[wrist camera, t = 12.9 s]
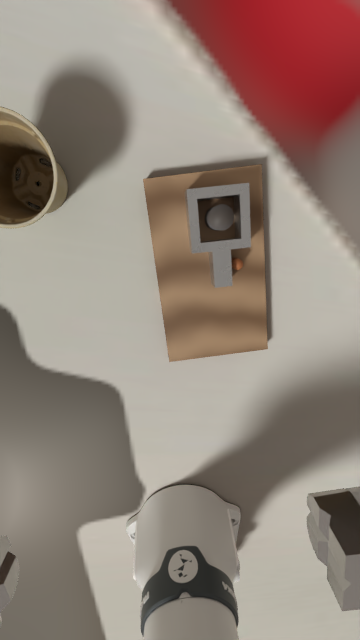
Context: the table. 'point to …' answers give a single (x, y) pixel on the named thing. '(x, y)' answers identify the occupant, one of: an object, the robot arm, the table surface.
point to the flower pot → (27, 173)
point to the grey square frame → (220, 247)
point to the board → (208, 267)
